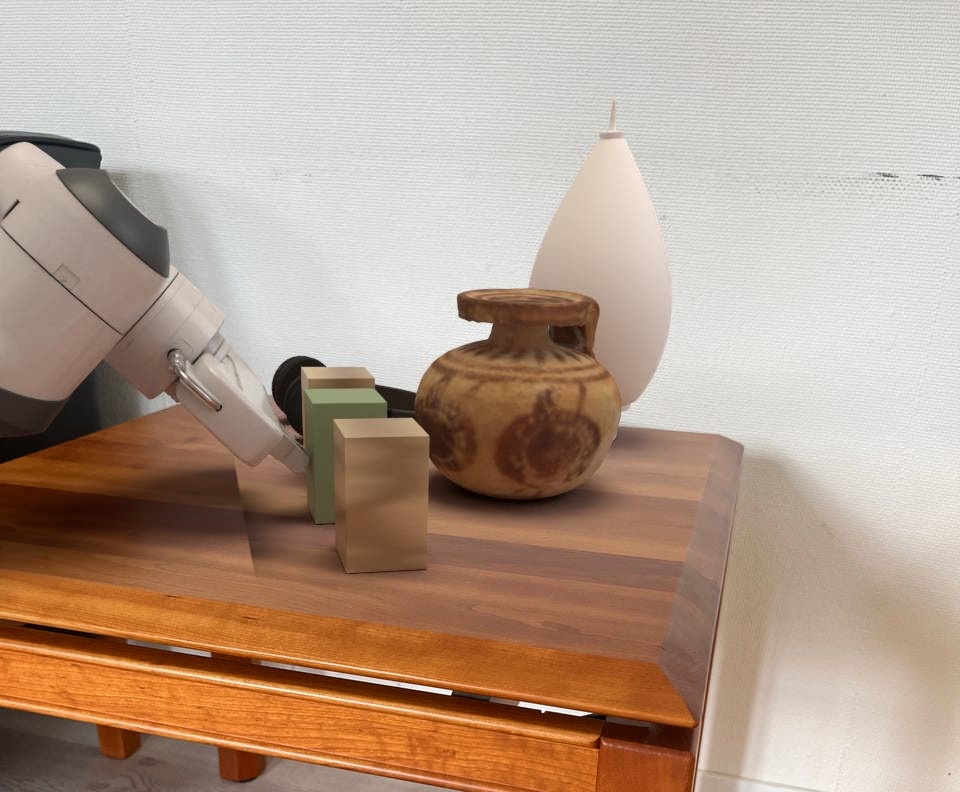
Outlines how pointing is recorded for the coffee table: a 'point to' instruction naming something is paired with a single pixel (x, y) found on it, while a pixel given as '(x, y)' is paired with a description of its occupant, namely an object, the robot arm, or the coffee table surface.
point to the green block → (331, 439)
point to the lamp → (612, 262)
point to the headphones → (290, 393)
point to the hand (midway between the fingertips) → (302, 463)
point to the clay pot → (521, 396)
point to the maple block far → (334, 381)
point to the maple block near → (381, 494)
